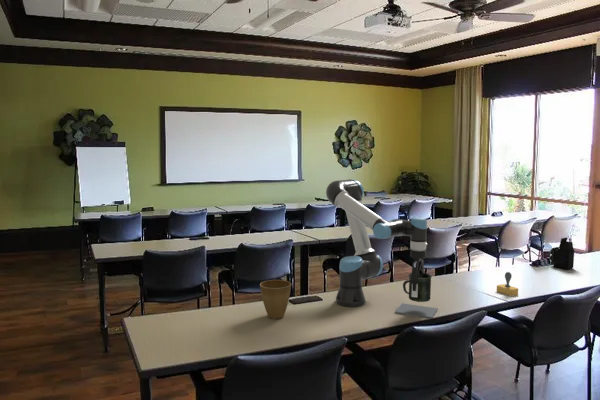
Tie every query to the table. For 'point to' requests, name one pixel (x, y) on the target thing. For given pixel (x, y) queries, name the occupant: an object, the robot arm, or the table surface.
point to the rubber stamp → (507, 286)
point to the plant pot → (275, 297)
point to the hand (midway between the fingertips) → (417, 293)
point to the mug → (420, 287)
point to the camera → (563, 255)
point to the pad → (416, 310)
